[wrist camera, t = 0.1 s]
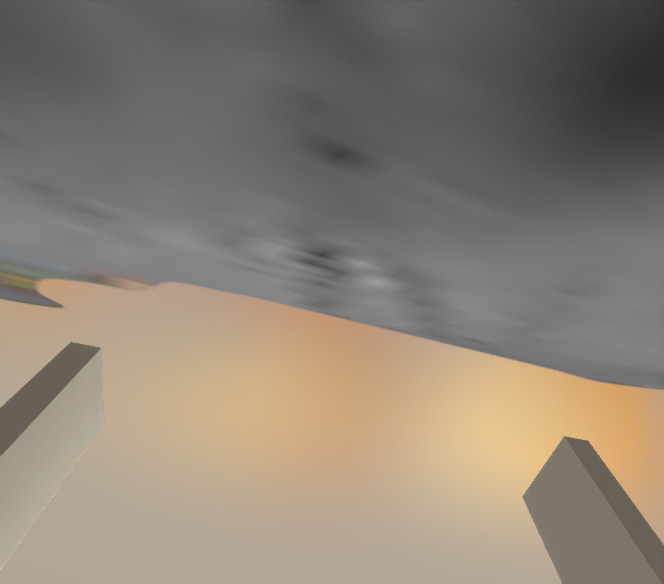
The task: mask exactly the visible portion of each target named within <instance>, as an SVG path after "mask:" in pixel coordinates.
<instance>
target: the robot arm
mask: <svg viewBox="0 0 664 584" xmlns="http://www.w3.org/2000/svg"><path fill="white" fill-rule="evenodd" d="M103 405H104V404H103V376H102V351H101V348H99V347H94V346H89V345H83V344H78V343H73V342H71V343H70V344H69V345H67V346H66V347H65V348H64V349H63V350H62V351H61V352H60V353H59V354H58V355H57V356H56V357H55V358H53V359H52V360H51V362H49V363H48V364H47V365H46V366H45V367H44V368H43V369H42V370H41V371H40V372H38V373H37V374H36V375H35V376H34V377H33V378H32V379H31V380H30V381H29V382H28V383H27V384H26V385H24V386H23V387H22V388H21V389H20V390H19V391H18V392H17V393H16V394H15V395H14V396H13V397H12V398H11V399H9V401H7V402H6V403H5V404H4V405H3V406H2V407H1V408H0V571H1V570H2V568H3V567H4V565H5V564H6V563H7V561H8V560H9V558H10V557H11V555H12V554H13V553H14V551H15V550H16V548H17V547H18V546H19V544H20V543H21V541H22V540H23V538H24V537H25V536H26V534H27V533H28V531H29V530H30V529H31V527H32V526H33V524H34V523H35V522H36V520H37V519H38V517H39V516H40V514H41V513H42V512H43V510H44V509H45V507H46V506H47V504H48V503H49V502H50V500H51V499H52V497H53V496H54V495H55V493H56V492H57V490H58V489H59V488H60V486H61V485H62V483H63V482H64V480H65V479H66V478H67V476H68V475H69V473H70V472H71V470H72V469H73V468H74V466H75V465H76V463H77V462H78V461H79V459H80V458H81V456H82V455H83V454H84V452H85V450H86V449H87V448H88V446H89V445H90V443H91V442H92V441H93V439H94V438H95V437H96V435H97V433H98V432H99V431H100V429H101V428H102V427H103V425H104V406H103ZM523 499H524V501H525V504H526V506H527V507H528V510H529V512H530V514H531V516H532V519H533V521H534V523H535V525H536V527H537V529H538V532H539V534H540V536H541V538H542V540H543V543H544V545H545V547H546V549H547V551H548V553H549V556H550V558H551V560H552V562H553V564H554V566H555V569H556V571H557V573H558V575H559V577H560V579H561V582H562V584H664V545H663V543H662V542H661V541H660V539H659V538H658V537H657V535H656V534H655V532H654V531H653V530H652V529H651V527H650V525H649V524H648V523H647V521H646V520H645V519H644V517H643V516H642V514H641V513H640V512H639V510H638V509H637V508H636V506H635V505H634V503H633V502H632V501H631V499H630V498H629V497H628V495H627V494H626V492H625V491H624V490H623V488H622V487H621V486H620V484H619V483H618V481H617V480H616V479H615V477H614V476H613V475H612V473H611V472H610V470H609V469H608V468H607V466H606V465H605V463H604V462H603V461H602V459H601V458H600V457H599V455H598V454H597V452H596V451H595V450H594V448H593V447H592V445H591V444H590V443H589V441H586V440H581V439H575V438H570V437H565V436H564V438H563V439H562V440H561V442H560V443H559V445H558V446H557V448H556V449H555V451H554V452H553V453H552V455H551V456H550V458H549V459H548V461H547V462H546V463H545V465H544V466H543V468H542V469H541V471H540V472H539V474H538V475H537V476H536V478H535V479H534V481H533V482H532V484H531V485H530V487H529V488H528V489H527V491H526V492H525V494H524V495H523Z"/></svg>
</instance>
